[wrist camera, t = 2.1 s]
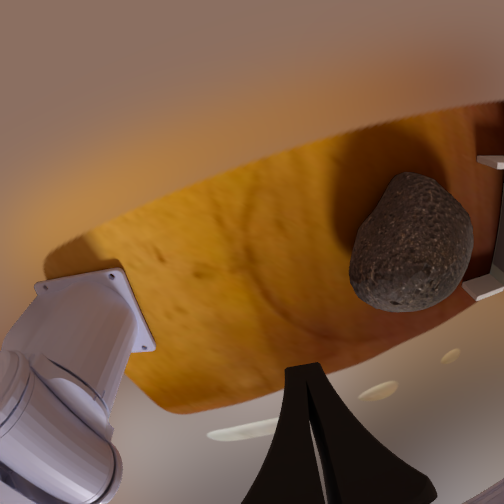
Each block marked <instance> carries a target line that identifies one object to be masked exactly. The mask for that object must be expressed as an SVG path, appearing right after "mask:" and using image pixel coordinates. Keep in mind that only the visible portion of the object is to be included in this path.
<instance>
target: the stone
mask: <svg viewBox="0 0 504 504" xmlns="http://www.w3.org/2000/svg"><path fill="white" fill-rule="evenodd" d="M472 232H473V227H472V225H471V221H470V217H469V214H468V213H467V212H466V211H465V209H464V208H463V207H462V206H461V204H460V203H459V202H458V201H457V200H456V199H455V198H454V197H453V196H452V195H451V194H450V193H448V192H447V191H446V190H445V189H444V188H443V187H442V186H441V185H440V184H438V183H437V182H436V181H435V180H434V179H432V178H429V177H427V176H424V175H421V174H417V173H413V172H403V173H401V174H398V175H396V176H394V178H393V179H392V180H391V182H390V184H389V185H388V187H387V189H386V191H385V193H384V194H383V196H382V198H381V200H380V201H379V203H378V205H377V206H376V208H375V209H374V210H373V212H372V213H371V214H370V215H369V216H368V217H367V219H366V220H365V221H364V222H363V223H362V225H361V226H360V227H359V229H358V233H357V236H356V240H355V243H354V247H353V251H352V256H351V260H350V267H349V276H350V283H351V285H352V287H353V288H354V291H355V293H356V294H357V296H358V297H359V298H360V299H361V300H363V301H364V302H366V303H368V304H369V305H371V306H373V307H374V308H376V309H381V310H384V311H389V312H410V311H417V310H422V309H426V308H428V307H431V306H433V305H435V304H437V303H439V302H440V301H442V300H443V299H445V298H446V297H448V296H449V295H450V294H451V293H452V292H453V291H454V290H455V289H456V287H457V285H458V284H459V282H460V281H461V279H462V277H463V275H464V273H465V271H466V269H467V267H468V263H469V261H470V258H471V253H472V249H473V233H472Z"/></svg>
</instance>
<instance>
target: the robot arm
mask: <svg viewBox="0 0 504 504" xmlns="http://www.w3.org/2000/svg"><path fill="white" fill-rule="evenodd" d="M110 274H113V275H114V276H115V277H112V276H111V275H110ZM46 286H47V287H48V288H47V287H46ZM34 289H35V291H36V293H37V295H38V296H37V297H36V298H35V299H34V300H33V302H32V303H31V304H30V305H29V307H28V308H27V309H26V310H25V311H24V313H23V314H22V315H21V316H20V318H19V319H18V320H17V321H16V323H15V324H14V325H13V326H12V328H11V329H10V330H9V332H8V333H7V335H6V336H5V338H4V341H3V344H2V349H1V351H0V504H107V503H108V502H109V501H110V500H111V499H112V498H113V497H114V495H115V494H116V492H117V490H118V488H119V486H120V483H121V479H122V473H123V466H122V460H121V456H120V454H119V452H118V450H117V449H116V447H115V446H114V445H113V444H112V443H111V438H112V435H113V431H114V428H113V427H112V426H111V425H110V423H109V420H108V419H109V416H110V413H111V409H112V406H113V403H114V400H115V397H116V394H117V391H118V388H119V385H120V382H121V379H122V376H123V373H124V370H125V367H126V365H127V362H128V359H129V356H130V353H131V352H147V351H154V350H155V348H156V344H155V341H154V339H153V337H152V335H151V333H150V331H149V329H148V327H147V324H146V322H145V320H144V318H143V316H142V313H141V311H140V309H139V306H138V304H137V302H136V299H135V297H134V295H133V292H132V290H131V287H130V285H129V283H128V280H127V278H126V275H125V272H124V271H123V270H122V269H121V268H111V269H106V270H100V271H95V272H89V273H84V274H78V275H73V276H67V277H62V278H57V279H51V280H46V281H40V282H37V283H36V284H35V285H34ZM143 345H144V346H143ZM145 346H146V347H145ZM309 420H310V423H309ZM310 424H311V427H312V431H313V434H314V438H315V441H316V445H317V448H318V452H319V456H320V459H321V464H322V469H323V475H324V481H325V487H326V495H327V501H328V504H430V503H431V502H433V501H434V500H435V499H436V498H437V492H436V489H435V487H434V486H433V484H432V482H431V481H430V479H429V478H428V477H427V476H426V475H424V474H423V473H421V472H419V471H418V470H416V469H414V468H413V467H411V466H410V465H408V464H407V463H405V462H404V461H403V460H401V459H400V458H398V457H397V456H396V455H395V454H393V453H392V452H391V451H390V450H388V449H387V448H386V447H385V446H383V445H382V444H381V443H380V442H379V441H378V440H377V439H376V438H375V437H374V436H373V435H372V434H371V433H370V432H368V430H366V428H364V426H363V425H362V424H361V423H360V422H359V421H358V420H357V419H356V417H355V416H354V415H353V414H352V413H351V411H350V410H349V409H348V408H347V406H346V405H345V404H344V402H343V401H342V400H341V398H340V397H339V395H338V394H337V393H336V391H335V390H334V388H333V386H332V385H331V383H330V382H329V380H328V378H327V377H326V375H325V373H324V371H323V369H322V367H321V365H320V363H318V362H316V363H310V364H305V365H299V366H293V367H287V368H286V369H285V388H284V396H283V402H282V408H281V412H280V416H279V420H278V424H277V427H276V431H275V434H274V437H273V440H272V443H271V446H270V449H269V451H268V454H267V456H266V458H265V460H264V463H263V465H262V467H261V469H260V471H259V473H258V475H257V477H256V479H255V481H254V483H253V485H252V486H251V488H250V490H249V491H248V493H247V495H246V496H245V498H244V500H243V501H242V502H241V504H325V500H324V496H323V491H322V486H321V481H320V476H319V471H318V466H317V461H316V457H315V452H314V447H313V441H312V437H311V431H310ZM462 504H504V478H503V479H502V480H500V481H499V482H497V483H496V484H494V485H493V486H491V487H490V488H488V489H487V490H485V491H483V492H482V493H480V494H478V495H477V496H475V497H473V498H471V499H470V500H468V501H466V502H464V503H462Z"/></svg>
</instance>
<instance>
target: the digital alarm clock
mask: <svg viewBox="0 0 504 504" xmlns="http://www.w3.org/2000/svg"><path fill="white" fill-rule="evenodd" d="M477 162H479V163H482V164H485V165H487V166H490V167H493V168H495V169H504V156H477ZM462 287H463V288H464V289H465V290H466V291H467V292H468V293H469V294H470V295H471V296H472V298H473V299H474V300H475V301H478V300H481V299H483V298H486V297H489V296H491V295H494V294H496V293H499V292H501V291H503V288H504V185H503V197H502V206H501V215H500V222H499V229H498V235H497V241H496V246H495V251H494V256H493V261H492V266H491V270H490V274H487V275H484V276H481V277H478V278H475V279H472V280H468V281H465V282H463V284H462Z"/></svg>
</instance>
